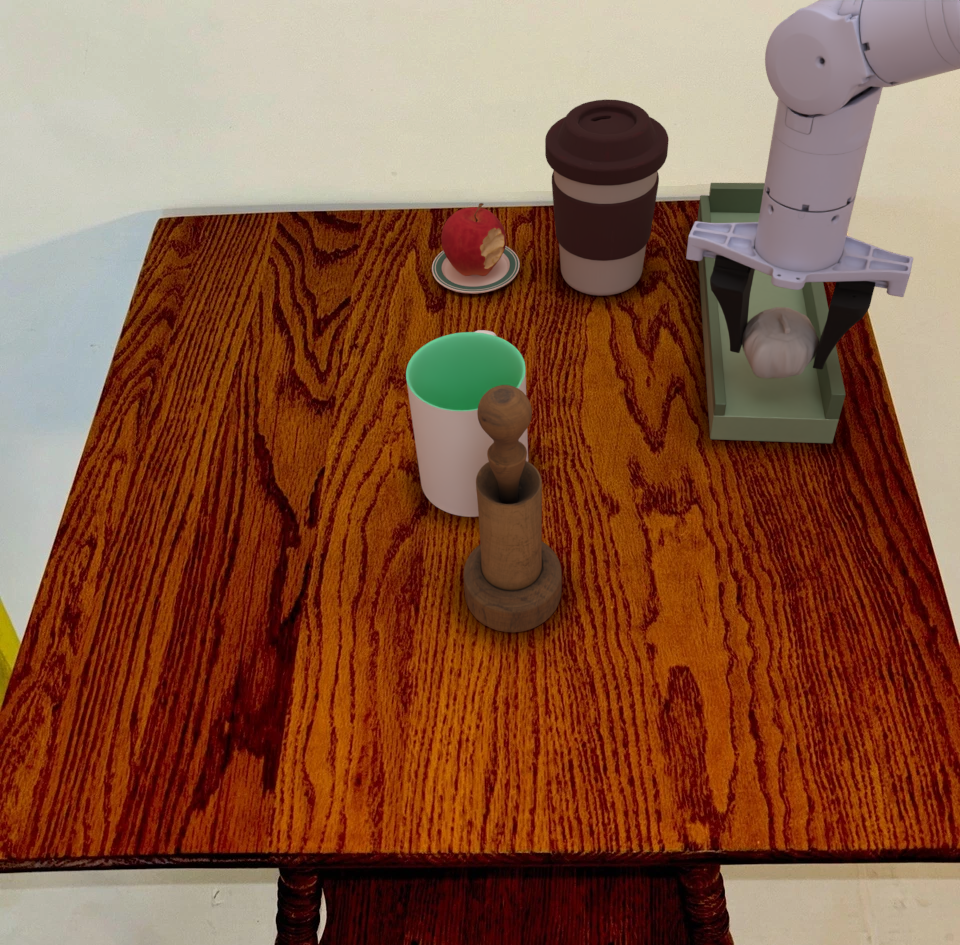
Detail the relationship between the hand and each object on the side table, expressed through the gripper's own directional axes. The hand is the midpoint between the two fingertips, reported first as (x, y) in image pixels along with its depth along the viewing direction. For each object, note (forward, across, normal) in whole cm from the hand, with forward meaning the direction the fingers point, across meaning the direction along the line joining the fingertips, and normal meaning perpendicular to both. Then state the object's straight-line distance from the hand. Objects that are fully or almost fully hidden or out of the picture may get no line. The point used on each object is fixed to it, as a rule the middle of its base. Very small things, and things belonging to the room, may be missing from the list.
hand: (777, 352), depth 76 cm
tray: (+6, -3, +10) cm, 12 cm away
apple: (+6, -28, +10) cm, 31 cm away
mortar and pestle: (+6, -12, -23) cm, 27 cm away
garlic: (+2, 0, 0) cm, 2 cm away
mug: (+6, -19, -12) cm, 23 cm away
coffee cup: (+6, -17, +13) cm, 23 cm away
